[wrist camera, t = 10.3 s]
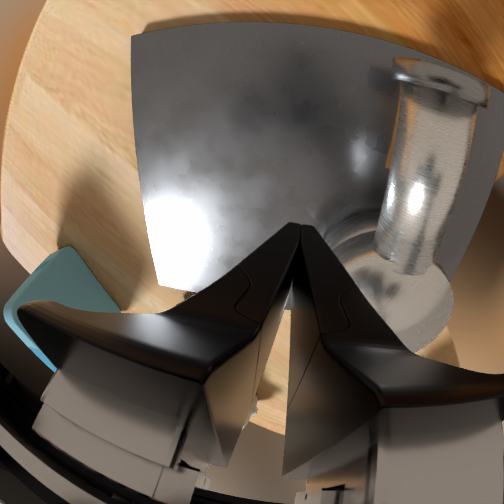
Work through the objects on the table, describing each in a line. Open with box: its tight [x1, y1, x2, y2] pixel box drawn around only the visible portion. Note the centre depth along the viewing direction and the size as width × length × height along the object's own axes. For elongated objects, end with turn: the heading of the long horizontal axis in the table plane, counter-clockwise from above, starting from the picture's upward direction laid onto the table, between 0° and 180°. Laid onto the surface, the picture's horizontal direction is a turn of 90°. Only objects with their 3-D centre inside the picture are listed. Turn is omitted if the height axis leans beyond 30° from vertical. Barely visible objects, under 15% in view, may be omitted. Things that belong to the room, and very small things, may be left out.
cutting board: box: [131, 22, 504, 310], centre depth 17 cm, size 26×22×4 cm
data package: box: [4, 247, 121, 372], centre depth 26 cm, size 12×4×12 cm, turn 23°
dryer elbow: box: [332, 57, 490, 353], centre depth 13 cm, size 18×9×5 cm, turn 0°
